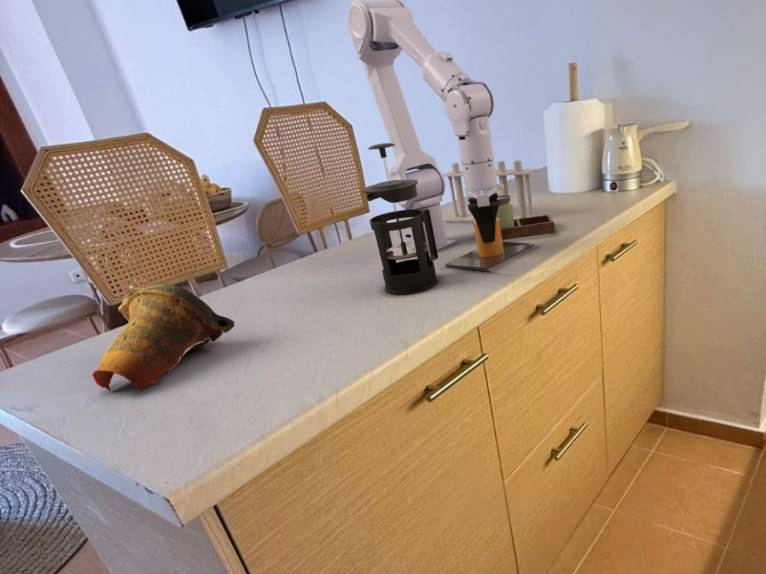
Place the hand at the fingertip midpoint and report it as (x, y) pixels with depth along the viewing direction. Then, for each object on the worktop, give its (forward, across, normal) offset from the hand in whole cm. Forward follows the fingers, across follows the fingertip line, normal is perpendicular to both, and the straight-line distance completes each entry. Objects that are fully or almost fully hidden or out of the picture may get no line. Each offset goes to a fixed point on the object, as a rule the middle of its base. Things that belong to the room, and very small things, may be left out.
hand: (488, 238), depth 104 cm
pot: (+4, -28, +48) cm, 56 cm away
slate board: (+4, 0, 0) cm, 4 cm away
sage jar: (+3, +13, -3) cm, 14 cm away
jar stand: (+4, +13, -7) cm, 15 cm away
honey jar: (+3, 0, 0) cm, 3 cm away
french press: (+4, -10, +14) cm, 18 cm away
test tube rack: (+4, +31, -2) cm, 31 cm away
